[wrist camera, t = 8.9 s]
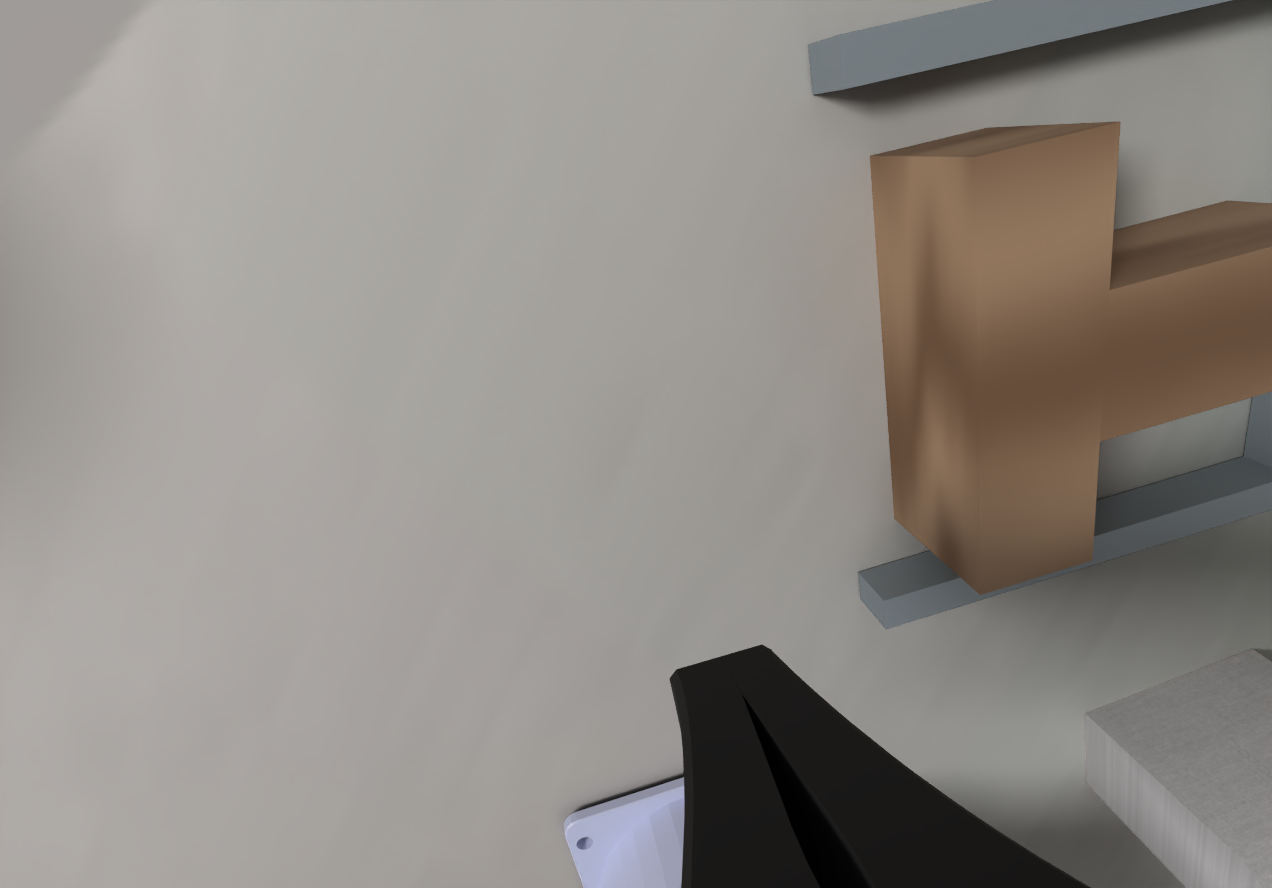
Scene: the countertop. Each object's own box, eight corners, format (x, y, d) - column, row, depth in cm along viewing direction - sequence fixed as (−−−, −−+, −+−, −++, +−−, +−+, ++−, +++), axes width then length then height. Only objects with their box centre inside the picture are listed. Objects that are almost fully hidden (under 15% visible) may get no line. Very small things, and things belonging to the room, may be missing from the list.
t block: (1198, 428, 22) (1339, 483, 18) (894, 518, 21) (980, 594, 17) (1243, 65, 18) (1437, 44, 14) (869, 156, 17) (974, 157, 13)
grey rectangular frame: (1266, 475, 23) (1315, 496, 22) (860, 599, 22) (885, 629, 20) (1362, -79, 17) (1438, -98, 16) (808, 44, 16) (838, 34, 14)
